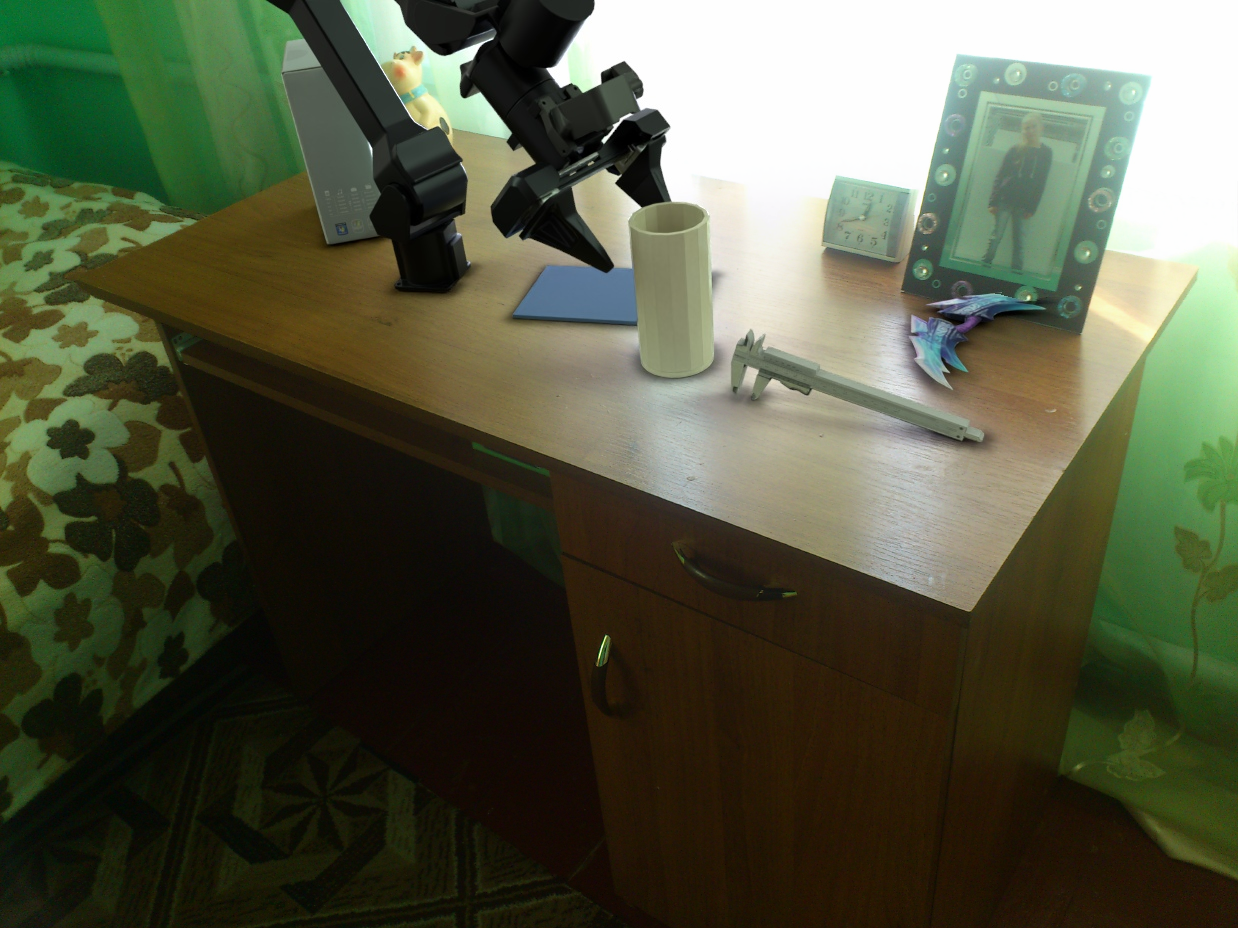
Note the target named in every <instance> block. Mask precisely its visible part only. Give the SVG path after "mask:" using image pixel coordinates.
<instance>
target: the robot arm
mask: <svg viewBox="0 0 1238 928" xmlns="http://www.w3.org/2000/svg"><path fill="white" fill-rule="evenodd" d="M265 1H266V2H268V3H269V4H271V5H273V6H274V7H276V8H278V9H279V10H281V11H282V12H284V13H285V14H287V15H288V16H289V18H290V19H291V21H292V22H293V23H294V24H295V26H296V28H297V30H298V31H299V33H300V34H301V36H302V39H305V41H306V42H307V44H308V46H309V47H310V49H311V50H312V52H313V54H314V55H315V57H316V58H317V60H318V62H319V63H320V65H321V67H322V68H323V70H324V71H325V73H326V75H327V76H328V78H329V79H330V81H331V83H332V84H333V86H334V87H335V89H336V91H337V92H338V94H339V95H340V97H341V99H342V100H343V102H344V104H345V105H346V107H347V108H348V110H349V112H350V113H351V115H352V116H353V118H354V120H355V121H356V123H357V124H358V126H359V128H360V129H361V131H362V133H363V134H364V136H365V137H366V139H367V141H368V142H369V144H370V146H371V148H372V162H373V179H374V182H375V184H376V186H377V188H378V190H379V192H380V194H381V195H380V197H379V198H378V200H377V202H376V204H375V206H374V208H373V209H372V211H371V213H370V215H369V218H370V220H371V222H372V224H373V227H374V229H375V231H376V233H377V235H379V236H378V237H381V238H384V239H388V240H390V241H391V245H392V248H393V253H394V256H395V261H396V264H397V269H398V272H399V277H400V278H399V279H397V281H396V282H395V283H394V285H393V286H394V290H396V291H397V290H398V291H414V292H415V291H416V292H433V293H436V292H437V293H449V292H450V291H451V290H453V289H454V287H455V286H456V285H457V283H459V281H460V280H461V279H462V278H463V276H465V274H466V273H468V271H469V269H470V268H471V267H472V265H471V261H469V260H468V259H467V256H466V250H465V245H464V240H463V236H462V233H458V230H457V225H456V218H458V217H459V216H463V215H465V214H466V208H467V207H466V206H467V196H468V182H469V177H468V175H467V172H466V169H465V167H464V166H463V165H462V163H463V162H464V159H463V158H462V157H461V156H460V154H459V153H458V152H457V151H456V149H454V146H453V145H452V143H451V141H450V139H449V136H448V135H447V133H446V131H445V130H444V129H442V128H441V127H440V126H439V125H436V126H434V127H431V128H429V129H428V128H426V127H424V126H423V125H421V124H419V123H417V122H416V121H415V119H413V117H412V116H411V114H410V112H409V111H408V109H407V108H406V106H405V104H404V102H403V101H402V99H401V98H400V96H399V95H398V93H397V91H396V89H395V88H394V86H393V85H392V82H390V80H389V78H388V76H387V75H386V73H385V72H384V69H383V68H382V67H381V64H380V63H379V62H378V60H377V58H376V56H375V55H374V54H373V52H372V50H371V49H370V47H369V45H368V43H367V42H366V40H365V38H364V37H363V35H362V33H361V32H360V30H359V29H358V27H357V25H356V23H354V20H353V18H352V17H351V16H350V14H349V12H348V10H347V9H346V7H345V5H344V4H343V3H342V1H341V0H265ZM393 1H394V2H395V3H396V4H397V6H399V8H400V11H401V15H402V18H403V21H404V24H405V26H406V27H407V28H408V29H409V30H410V31H411V32H412V33H413V34H414V35H415V36H416V37H417V39H419V40H420V41H421V42H422V43H423V44H424V45H425V46H426V47H427V48H428V49H429V50H430V51H431V52H433V53H434V54H437V55H439V56H441V57H447V56H451V55H454V54H457V53H460V52H462V51H465V50H468V49H470V48H473V47H476V46H478V45H480V46H479V47H478V49H477V51H476V53H475V54H474V56H473V59H471V60H468V61H466V62H463V63H461V64H460V65H459V72H460V81H459V95H460V97H461V98H462V99H469V98H470V97H473V96H475V95H477V94H480V95H482V97H483V98H484V99H485V101H487V103H488V105H489V106H490V107H491V108H492V110H493V111H494V113H495V114H496V115H497V116H498V117H499V119H500V120H501V121H502V123H503V124H504V125H505V127H506V128H507V129H508V130H509V132H510V133H511V134H510V136H509V137H508V139H507V140H506V144H507V145H508V147H510V149H511V150H512V151H513V152H516V151H517V150H519V149H521V148H523V149H524V151H525V152H526V153H527V155H528V156H529V157H530V159H531V160H532V161H533V163H534V164H532V165H530V166H528V167H526V168H523V169H522V170H520V171H518V172H516V173H514V174H511V176H510V177H509V178H508V180H507V182H506V183H505V184H504V186H503V187H502V189H501V190H500V192H499V193H498V194H497V196H496V197H495V199H494V200H493V202H492V203H491V205H490V215H491V221H492V223H493V225H494V226H495V227H496V228H497V230H498V232H500V234H501V236H502V237H504V239H509V238H511V237H512V236H514V235H516V234H518V233H519V234H518V237H519V239H520V240H522V241H526V240H528V239H531V240H533V241H535V242H537V243H541V244H543V245H545V246H548V247H550V248H553V249H554V250H557V251H560V252H562V253H564V254H567V255H568V256H571V257H572V258H574V259H576V260H578V261H580V262H582V263H584V264H586V265H588V266H589V267H594V268H596V269H598V270H600V271H602V272H604V273H609V272H610V271H611V270H612V269H613V268H615V264H614V262H613V261H612V259H611V257H610V255H609V254H608V252H607V250H606V249H605V247H604V246H603V244H602V243H601V242H600V241H599V239H598V238H597V237H596V235H595V234H594V232H593V231H592V230H591V229H590V227H589V226H588V224H587V223H586V222H585V219H584V218H582V216H581V215H580V213H579V211H578V209H577V206H576V201H575V196H574V191H573V187H574V186H576V185H578V184H580V183H582V182H584V181H585V180H587V179H589V178H591V177H593V176H595V175H597V174H598V173H600V172H602V171H604V170H606V172H607V173H609V174H611V175H614V176H617V177H618V178H617V180H616V181H615V182H614V184H615V185H616V187H618V188H619V189H620V190H621V191H622V192H623V193H624V194H626V195H627V196H628V197H629V198H630V199H631V200H632V201H633V202H634V203H636V204H637V205H638V206H639V207H640V208H643V207H646V206H649V205H652V204H656V203H664V202H673V201H672V199H671V196H670V193H669V190H668V187H667V184H666V181H665V177H664V172H663V169H662V164H661V163H662V161H661V160H662V152H663V148H664V147H665V145H666V144H667V136H666V134H667V133H668V132H669V131H670V130H671V128H672V127H671V124H669V122H668V121H667V120H666V118H665V117H664V116H663V115H662V113H661V112H660V110H659V109H656V108H648V107H645V108H643V109H641V106H640V104H639V102H638V99H640V98H642V97H643V96H644V91H645V88H644V83H643V81H642V79H641V78H640V77H639V75H638V73H637V72H636V71H635V70H634V69H633V68H632V67H631V66H630V65H629V64H628V63H627V62H626V61H625V60H623V61H621V62H619V63H616V64H614V65H612V66H610V67H609V68H606V69H604V70H602V71H601V72H600V84H598V85H596V86H593V87H592V88H589V89H587V90H585V91H584V92H583V91H582V90H581V89H580V87H579V85H577V84H574V83H572V82H571V83H568V84H566V85H563V86H562V85H561V84H560V83H559V81H558V80H557V78H555V76H554V75H553V74H552V72H551V70H549V69H551V68H552V69H553V68H555V67H557V66H558V65H559V64H560V63H561V62H562V61H563V59H564V58H565V56H566V54H567V53H568V51H569V50H570V48H571V47H572V45H573V44H574V42H575V41H576V39H577V38H578V36H579V34H580V33H581V32H582V30H583V28H584V27H585V25H586V23H588V21H589V19H590V18H591V16H592V14H593V12H594V11H595V6H596V1H595V0H393ZM630 114H631V115H630ZM628 115H629V116H628ZM626 116H627V117H626ZM624 117H625V118H624ZM622 118H623V119H622ZM621 119H622V120H621ZM620 121H621V122H620ZM618 123H619V124H618ZM616 124H618V125H617V126H616V128H615V126H614V125H616ZM614 128H615V129H614ZM613 129H614V131H613ZM612 131H613V132H612ZM611 132H612V133H611ZM610 133H611V134H610ZM609 134H610V135H609ZM608 136H609V137H608ZM605 137H608V138H607V139H606V141H603V140H604V138H605ZM592 162H593V163H592Z"/></svg>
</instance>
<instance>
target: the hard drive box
mask: <svg viewBox="0 0 1238 928" xmlns="http://www.w3.org/2000/svg"><path fill="white" fill-rule="evenodd" d="M280 75H281V80H282V83H283V88H284V91H285V95H286V98H287V102H288V107H289V110H290V112H291V116H292V121H293V125H294V129H295V131H296V135H297V138H298V142H299V146H300V149H301V153H302V157H303V161H304V165H305V168H306V172H307V176H308V180H309V184H310V187H311V190H312V194H313V198H314V201H315V205H316V209H317V213H318V217H319V221H320V225H321V227H322V231H323V234H324V238H325V241H326V244H327V245H335V244H341V243H346V242H351V241H358V240H364V239H369V238H375V237H380V236H379V235H377V233H376V231H375V229H374V227H373V224H372V222H371V220H370V218H369V215H370V213H371V211H372V209H373V208H374V206H375V204H376V202H377V200H378V198H379V197H380V195H381V194H380V192H379V190H378V188H377V186H376V184H375V182H374V179H373V162H372V148H371V146H370V144H369V142H368V141H367V139H366V137H365V136H364V134H363V133H362V131H361V129H360V128H359V126H358V124H357V123H356V121H355V120H354V118H353V116H352V115H351V113H350V112H349V110H348V108H347V107H346V105H345V104H344V102H343V100H342V99H341V97H340V95H339V94H338V92H337V91H336V89H335V87H334V86H333V84H332V83H331V81H330V79H329V78H328V76H327V75H326V73H325V71H324V70H323V68H322V67H321V65H320V63H319V62H318V60H317V58H316V57H315V55H314V54H313V52H312V50H311V49H310V47H309V46H308V44H307V42H306V41H305V39H304V38H299V39H293V40H287V41H286V42H285V45H284V51H283V57H282V63H281V68H280Z"/></svg>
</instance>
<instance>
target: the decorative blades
mask: <svg viewBox="0 0 1238 928" xmlns="http://www.w3.org/2000/svg"><path fill="white" fill-rule="evenodd" d="M995 293H996V292H995ZM995 293H988V294H987V293H986V294H978V295H976V294H975V295H963V296H962V297H963V298H964V299H960V298H953V299H948V300H942V301H937V302H932V303H927V304H925V306H926V307H933V308H937V309H941V310H939V311H937V313H938V314H941V315H943V316H944V317H945V318H948V319H951V320H954V321H957V322H958V321H959V322H964V323H962V324H959V325H954V324H953V323H952V322H950V321H948V320H945V319H943V318H939V317H936V318H934V317H932V316H929V317H928V322H927V321H926V320H924V319H922V318H919V317H918V316H915V315H914V314H911V316H910V317H911V318H910V333H911V334H916V335H908V338H909V339H910V341H911V343H912V345H913V347H914V349H915V352H916V357H914V358H912V360H913V361H914V362H915V363H916V364H917V365H918V366H919V367H920V368H921V369H922V371H924V373H926V374H927V375H928V376H930V378H932V379H933V380H934V381H936V382H938V383H939V384H941V385H943V386H945V387H946V388H948V389H950V390H951V391H954V388H953V387H952V386H951V384H950V383H949V382H948V381H947V379H946V377H945V375H944V373H947V374H951V372H950V371H949V370H948V369H947V368H946V366H945V364H944V362H945V363H947V364H948V365H950V366H952V367H954V368H955V369H958V370H960V371H962V372H966V373H969V370H968V369H967V368H966V367H965V365H964V364H963V363H962V361H961V359H959V358H958V356H957V353H956V349H955V347H956V346H957V344H959V343H961V342H968V341H969V338H967V336H966V335H965V334H966V333H968V332H969V331H971V330H972V329H973V328H974V327H976V326H977V325H978V324H979V323H981V322H982V323H984V322H994V321H995V319H994V316H995V315H997V314H999V313H1002V312H1010V311H1037V310H1038V311H1040V310H1041V311H1042V310H1043V311H1044V310H1047V308H1046V307H1043V306H1039V305H1035V304H1029V303H1027V302H1026V301H1023V300H1020V299H1016V298H1012V297H1008V296H1004V295H1001V294H995ZM942 359H943V360H944V362H943V361H942Z"/></svg>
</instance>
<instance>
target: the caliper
mask: <svg viewBox="0 0 1238 928" xmlns="http://www.w3.org/2000/svg"><path fill="white" fill-rule="evenodd" d="M766 336H767V334H766V333H762V335H760V336H759V337H758V339H757V340H755V333H754V330H753V329H752V328H749V330H748V331H747V333H746V334H745V338H743V337H741V338H740V339H739V340H738V341H737V343H736V345H735V348H734V351H733V355H732V358H731V360H730V388H731V391H732V393H733V394H735V395H738V394H739V392H740V391H741V390H742V387H743V382H744V379H745V376H746V372H747V369H748V367H750V368H752V369H755V370H758V373H757V374H756V376H755V380H754V383H753V387H752V393H751V397H750V400H751V401H755V400H757V399H759V397H760V396H761V394H762V393H763V392H764V390H765V389H766V387H767V386H768V385H769V383H770V382H771V381H772V380H775V381H778V382H779V383H780V384H781V385H783V386H784V387H786V388H787V389H789V390H791V391H797V392H799V393H801V394H802V395H803V396H807V397H808V396H810V394H811V393H812V391H813V390H814V391H816V392H819V393H822V394H825V395H828V396H832V397H833V398H837V399H839V400H843V401H846V402H849V403H851V404H855V405H857V406H859V407H863V408H866V409H868V410H871V411H874V412H877V413H880V414H883V415H885V416H888V417H890V418H893V419H897V420H899V421H902V422H904V423H907V424H911V425H913V426H916V427H919V428H921V429H924V430H927V431H930V432H933V433H936V434H939V435H940V436H944V437H947V438H950V439H953V440H955V441H958V442H963V440H964V439H965V438H966V439H969V440H971V441H974V442H978V443H982V442H983V440H984V438H985V433H984V432H983V431H982V429H979V428H976V427H973V426H971V425H970V423H971V420H970V419H967V418H964V417H961V416H958V415H955V414H953V413H949V412H947V411H943V410H941V409H937V408H935V407H932V406H929V405H926V404H923V403H920V402H919V401H915V400H912V399H909V398H907V397H903V396H900V395H898V394H894V393H891V392H889V391H886V390H883V389H880V388H876V387H874V386H871V385H868V384H865V383H862V382H859V381H856V380H855V379H851V378H847V377H845V376H842V375H839V374H836V373H833V372H831V371H827V370H825V369H823V368H822V369H821V364H820V363H818V362H815V361H812V360H809V359H806V358H803V357H800V356H798V355H795V354H793V353H789V352H787V351H785V350H781V349H778V348H775V347H772V346H767V347H766V349H764V346H763V345H764V342H765V339H766Z"/></svg>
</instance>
